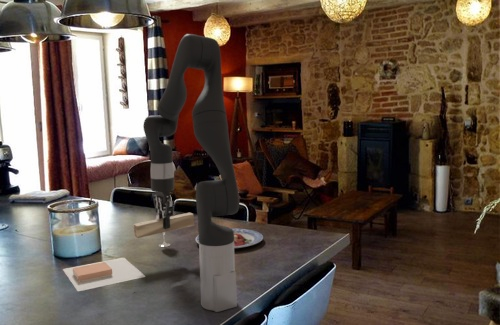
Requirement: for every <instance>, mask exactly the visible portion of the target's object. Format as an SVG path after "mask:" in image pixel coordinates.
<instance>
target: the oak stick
mask: <svg viewBox="0 0 500 325" xmlns="http://www.w3.org/2000/svg"><path fill="white" fill-rule="evenodd" d="M193 226H195V217H194V213H192V212H186V213H182V214H177V215H173V216H171V217H170V228H168V229H164V228H163V218H161V219H156V218H155V219H152V220H147V221H142V222H137V223H133V232H134V237H136V238H137V239H141V238H144V237H149V236H153V235H158V234H159V235H160V234H161V233H162V234H163V232H165V233H167V232H170V231H176V230H180V229H184V228H185V229H186V228H189V227H193Z"/></svg>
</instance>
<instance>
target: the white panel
mask: <svg viewBox="0 0 500 325" xmlns="http://www.w3.org/2000/svg"><path fill="white" fill-rule="evenodd" d="M103 262H105V263H106V264H107V265H108V266H109V267H110V268H111V269H112V275H111V276H106V277H101V278H97V279H92V280H87V281H82V282H79V281H78V280H77V278H76V277H75V275H74V274H73V268H77V267H82V266H87V265H92V264H97V263H103ZM62 271H63V272H64V274H65V275H66V276H67V278H68V280H69V281H70V282H71V284H72V285H73V287H74V288H75V290H76V291H77V292H84V291H86V290H93V289H96V288H101V287H105V286H109V285H115V284H118V283H125V282H128V281H134V280H138V279H143V278H146V275H145V274H144V273H143V272H142V271H141V270H139V269H138V268H137V267H136V266H135V265H134V264H132V263H131V262H130V261H128V259H126V258H125V256H124V257H120V258H118V257H117V258H113V259H108V260H104V261H99V262H93V263H88V264H82V265H77V266H72V267H71V266H70V267H66V268H62Z"/></svg>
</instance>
